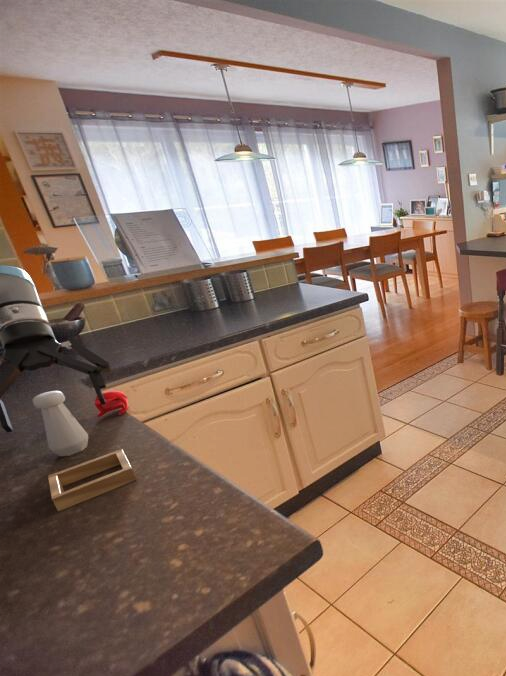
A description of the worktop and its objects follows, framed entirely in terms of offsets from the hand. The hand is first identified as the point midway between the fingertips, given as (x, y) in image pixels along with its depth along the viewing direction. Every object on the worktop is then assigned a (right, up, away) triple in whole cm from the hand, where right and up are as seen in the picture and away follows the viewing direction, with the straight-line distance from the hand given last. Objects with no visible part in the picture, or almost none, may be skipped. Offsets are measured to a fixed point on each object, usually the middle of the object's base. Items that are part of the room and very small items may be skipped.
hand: (57, 414), depth 86 cm
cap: (-4, -3, +17) cm, 18 cm away
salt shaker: (+1, -8, +2) cm, 8 cm away
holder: (+16, -11, -9) cm, 21 cm away
